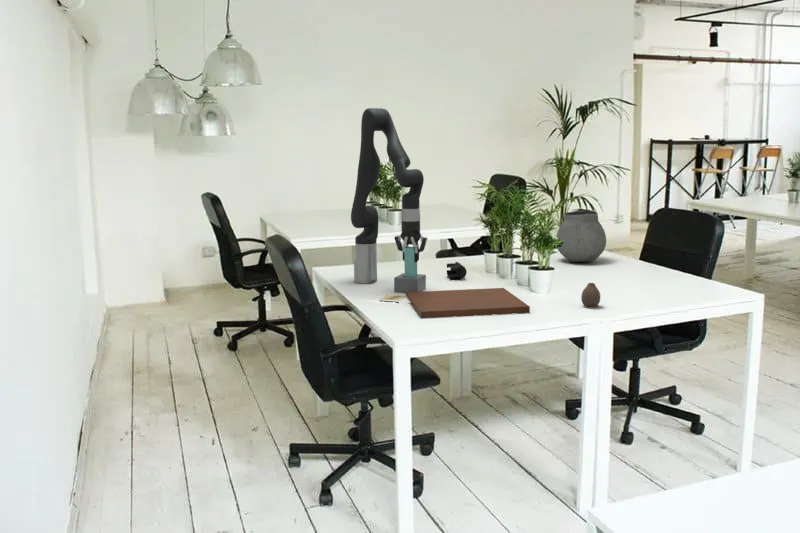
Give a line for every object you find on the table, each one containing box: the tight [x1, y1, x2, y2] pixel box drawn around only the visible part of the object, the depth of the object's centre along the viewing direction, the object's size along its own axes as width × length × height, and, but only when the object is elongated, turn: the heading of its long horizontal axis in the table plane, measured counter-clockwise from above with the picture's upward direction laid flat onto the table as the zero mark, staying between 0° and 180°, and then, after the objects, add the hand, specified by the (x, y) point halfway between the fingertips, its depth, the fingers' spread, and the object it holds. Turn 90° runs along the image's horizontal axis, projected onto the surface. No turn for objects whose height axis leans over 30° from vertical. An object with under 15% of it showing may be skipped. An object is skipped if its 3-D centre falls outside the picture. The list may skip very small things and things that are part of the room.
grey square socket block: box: [393, 272, 427, 294], centre depth 307 cm, size 10×10×7 cm
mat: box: [379, 294, 407, 304], centre depth 295 cm, size 8×8×1 cm
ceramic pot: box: [555, 210, 607, 263], centre depth 371 cm, size 24×24×25 cm
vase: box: [580, 282, 601, 308], centre depth 281 cm, size 7×7×9 cm
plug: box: [404, 245, 418, 278], centre depth 305 cm, size 4×4×13 cm
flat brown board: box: [405, 287, 531, 319], centre depth 286 cm, size 40×3×33 cm
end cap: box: [446, 261, 468, 282], centre depth 336 cm, size 10×7×7 cm
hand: (410, 261), depth 305 cm, fingers closed on plug, 4 cm apart
